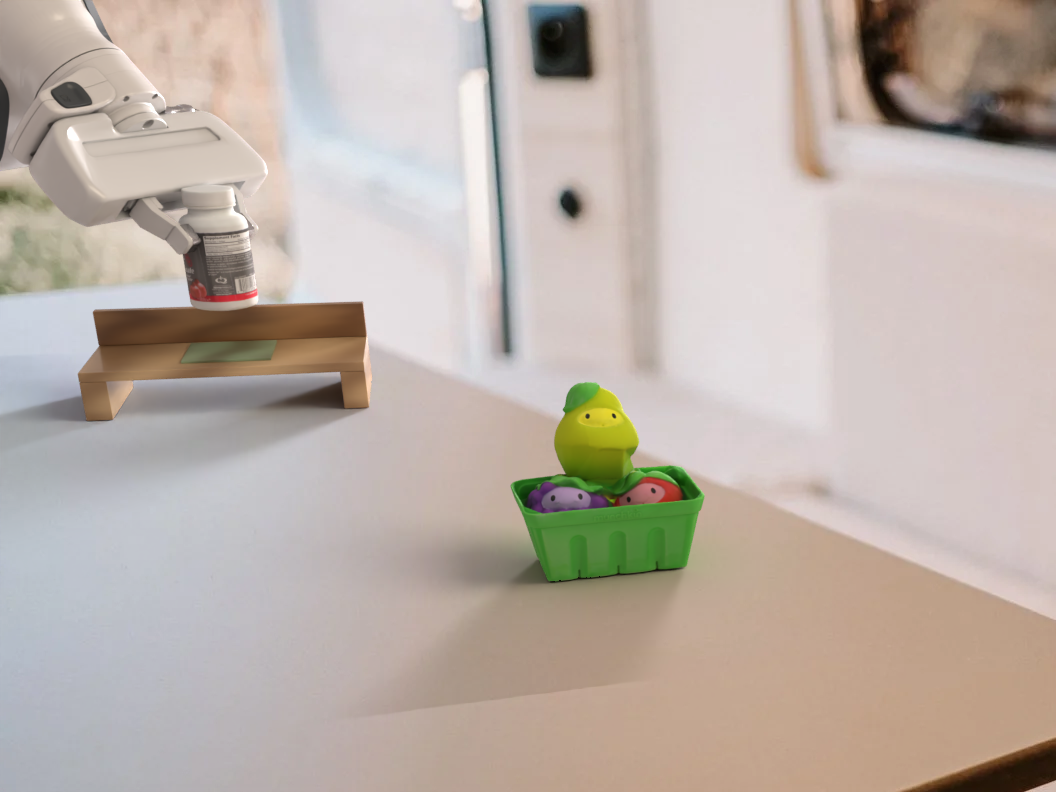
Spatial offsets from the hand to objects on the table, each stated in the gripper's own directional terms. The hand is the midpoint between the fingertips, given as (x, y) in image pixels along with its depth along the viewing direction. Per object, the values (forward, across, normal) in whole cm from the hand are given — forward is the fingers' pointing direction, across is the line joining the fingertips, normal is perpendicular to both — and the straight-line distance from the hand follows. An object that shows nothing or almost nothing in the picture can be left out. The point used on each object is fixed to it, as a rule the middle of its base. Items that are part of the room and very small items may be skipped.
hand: (220, 242), depth 135 cm
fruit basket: (+44, +23, +26) cm, 56 cm away
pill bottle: (+4, 0, -4) cm, 6 cm away
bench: (+9, 0, -10) cm, 13 cm away
